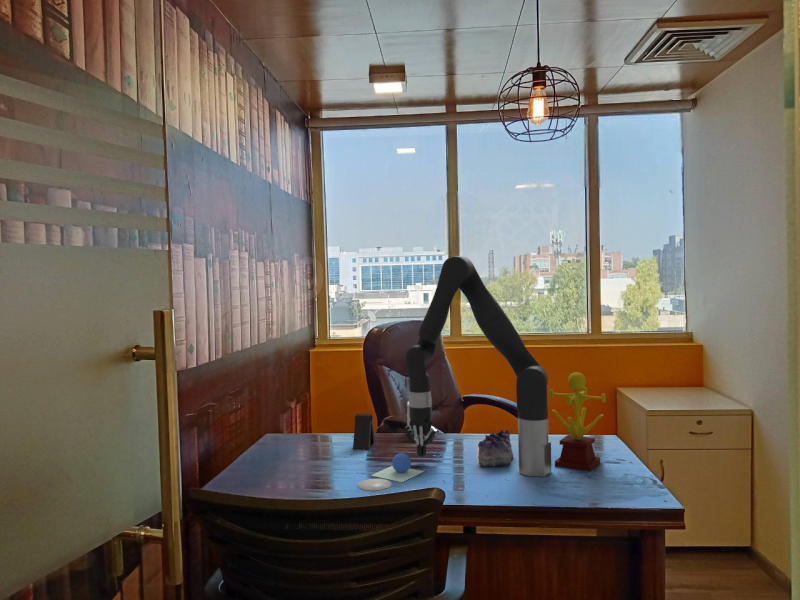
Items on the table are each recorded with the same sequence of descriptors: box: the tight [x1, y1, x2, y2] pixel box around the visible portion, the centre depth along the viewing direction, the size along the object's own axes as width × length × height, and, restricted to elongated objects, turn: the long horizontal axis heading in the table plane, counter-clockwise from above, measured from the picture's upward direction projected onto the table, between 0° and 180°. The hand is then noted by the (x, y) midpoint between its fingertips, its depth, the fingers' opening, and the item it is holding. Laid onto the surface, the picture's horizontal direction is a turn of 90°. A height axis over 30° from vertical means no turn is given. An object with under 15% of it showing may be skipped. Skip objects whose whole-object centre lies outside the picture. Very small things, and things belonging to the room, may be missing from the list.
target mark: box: [370, 465, 424, 483], centre depth 187 cm, size 12×12×1 cm
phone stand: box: [352, 413, 376, 451], centre depth 220 cm, size 9×6×12 cm, turn 166°
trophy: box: [549, 371, 607, 472], centre depth 193 cm, size 14×16×30 cm
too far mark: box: [357, 478, 392, 492], centre depth 177 cm, size 10×10×1 cm
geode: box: [477, 429, 514, 468], centre depth 200 cm, size 20×12×10 cm, turn 163°
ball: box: [391, 452, 412, 473], centre depth 188 cm, size 6×6×6 cm
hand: (421, 455), depth 199 cm, fingers closed
